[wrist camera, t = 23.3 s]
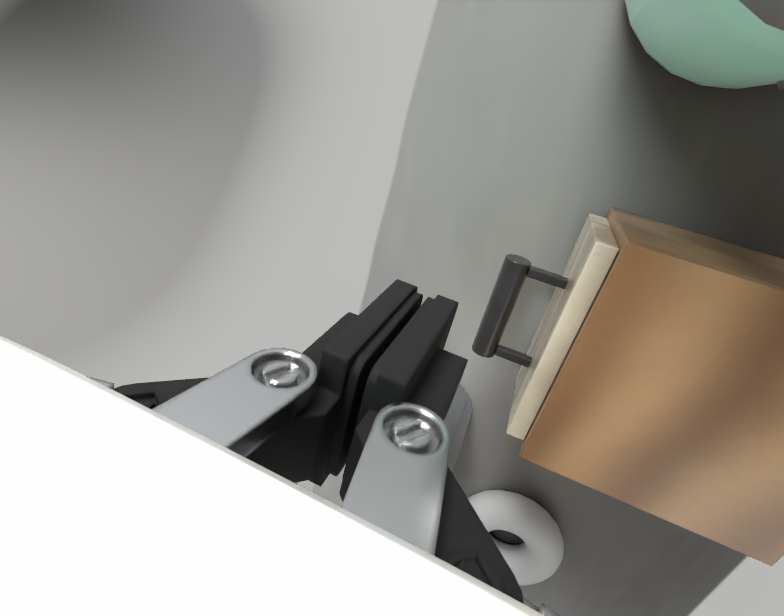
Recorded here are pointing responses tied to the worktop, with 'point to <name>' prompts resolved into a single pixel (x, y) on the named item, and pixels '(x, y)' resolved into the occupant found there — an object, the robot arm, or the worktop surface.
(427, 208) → the worktop surface
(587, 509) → the worktop surface
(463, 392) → the measuring cup
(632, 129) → the worktop surface
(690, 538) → the worktop surface
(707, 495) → the cabinet
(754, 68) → the juicer
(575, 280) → the drawer
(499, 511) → the donut
